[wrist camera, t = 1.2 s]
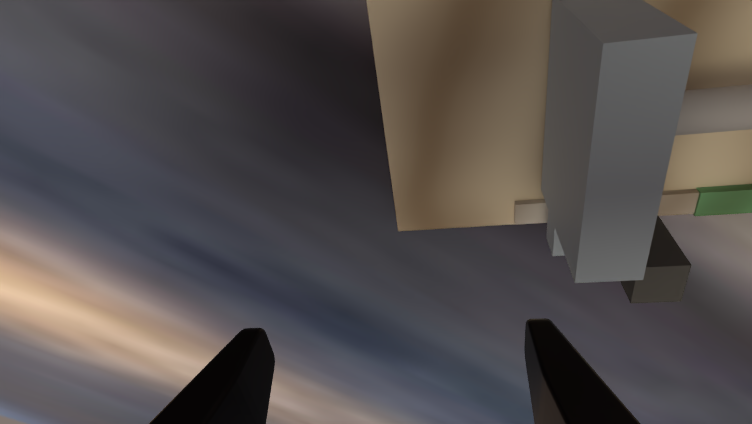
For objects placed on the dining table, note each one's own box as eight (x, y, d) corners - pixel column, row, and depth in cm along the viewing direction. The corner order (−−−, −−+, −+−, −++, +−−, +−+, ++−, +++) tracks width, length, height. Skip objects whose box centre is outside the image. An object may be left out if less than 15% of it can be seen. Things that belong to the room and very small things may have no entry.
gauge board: (1067, -149, 14) (1424, -158, 9) (892, 186, 20) (1046, 290, 15) (363, -48, 17) (338, -13, 12) (399, 218, 23) (392, 314, 18)
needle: (645, 197, 19) (691, 265, 16) (639, 230, 20) (681, 301, 17) (602, 200, 19) (638, 267, 16) (597, 232, 20) (630, 303, 17)
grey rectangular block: (824, -41, 15) (1000, -1, 10) (738, 217, 20) (830, 319, 15) (552, -6, 16) (602, 43, 11) (538, 229, 21) (569, 327, 17)
